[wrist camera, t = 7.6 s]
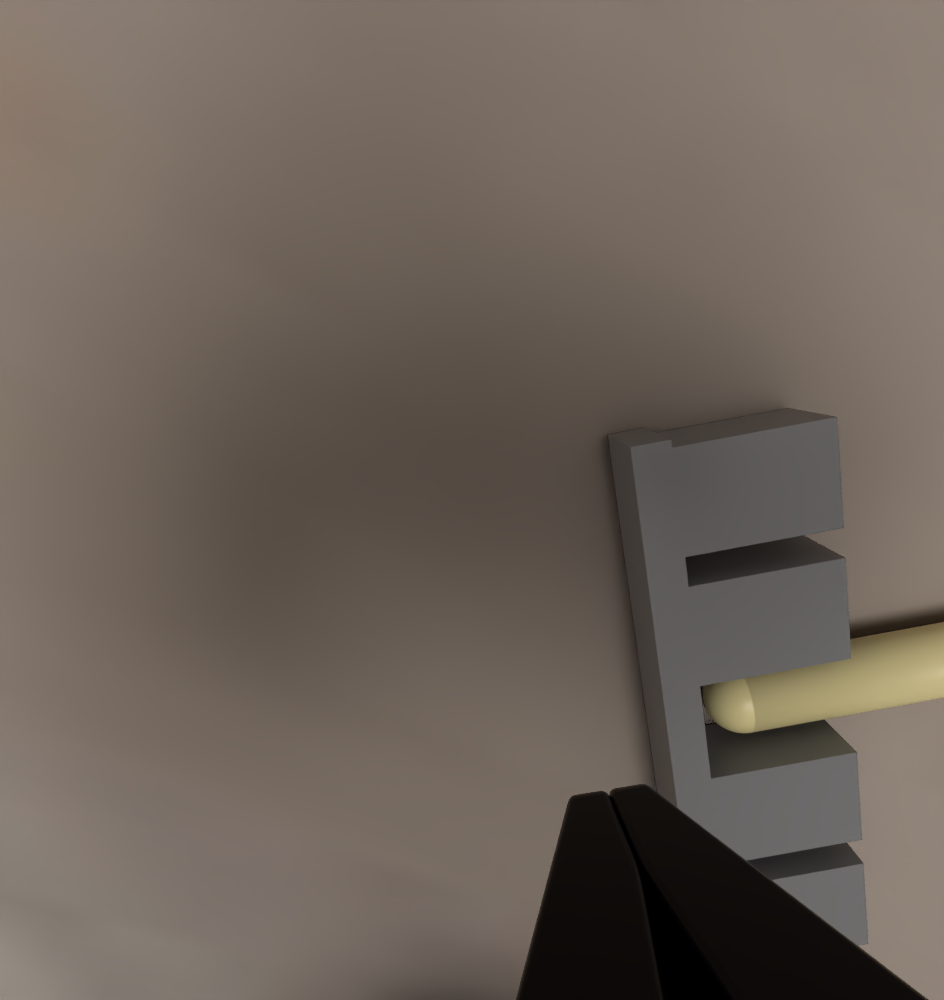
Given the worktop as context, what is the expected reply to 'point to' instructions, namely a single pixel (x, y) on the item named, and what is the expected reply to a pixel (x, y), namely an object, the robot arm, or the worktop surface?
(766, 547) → the cord rig
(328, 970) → the worktop surface
